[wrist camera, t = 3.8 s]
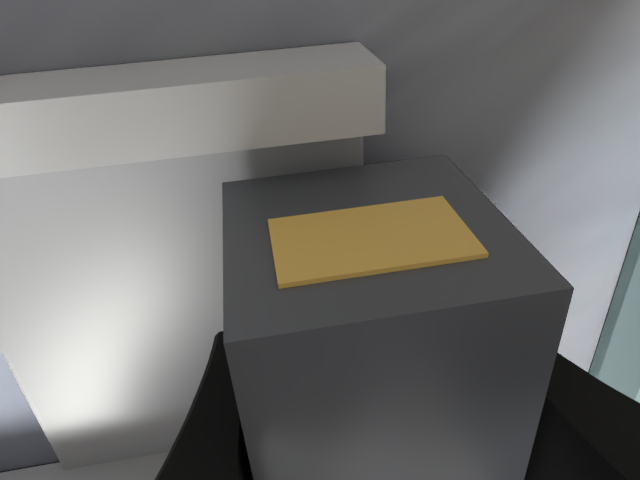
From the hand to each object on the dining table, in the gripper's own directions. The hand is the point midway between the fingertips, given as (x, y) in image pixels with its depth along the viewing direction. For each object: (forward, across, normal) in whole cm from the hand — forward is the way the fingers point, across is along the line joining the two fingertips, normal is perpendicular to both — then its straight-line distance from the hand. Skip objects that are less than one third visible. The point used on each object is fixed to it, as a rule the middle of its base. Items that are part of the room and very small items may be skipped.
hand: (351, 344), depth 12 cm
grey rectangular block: (+1, 0, 0) cm, 1 cm away
